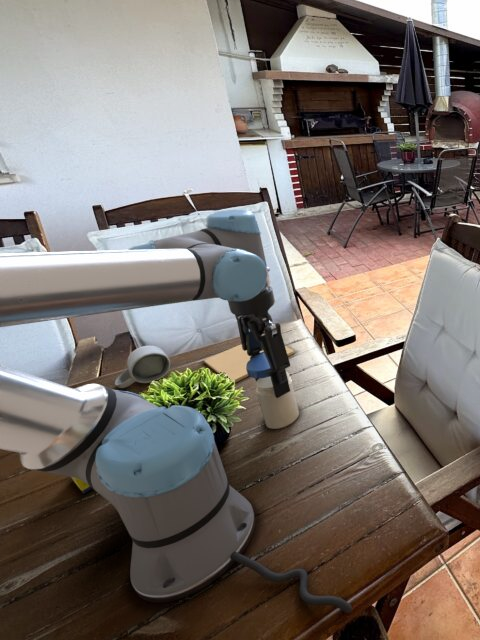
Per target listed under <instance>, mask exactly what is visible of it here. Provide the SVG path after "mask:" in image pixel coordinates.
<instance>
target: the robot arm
mask: <svg viewBox="0 0 480 640" xmlns="http://www.w3.org/2000/svg"><path fill="white" fill-rule="evenodd" d="M205 223H206V224H205V226H206V227H205V228H202V229H199V230H195V231H191V232H186V233H182V234H177V235H173V236H168V237H165V238H164V237H163V238H159V239H156V240H155V239H154V240H153V239H150V240H149V241H147V242H143V243H140V244H137V245H133V246H130V247H129V248H127V249H119V250H118V249H117V250H83V251H81V250H80V251H49V252H48V251H46V252H45V251H44V252H16V253H13V252H11V253H0V328H5V327H13V326H19V325H27V324H34V323H42V322H49V321H56V320H63V319H69V318H71V319H72V318H78V317H85V316H93V315H99V314H106V313H114V312H121V311H129V310H134V309H135V310H137V309H142V308H143V309H144V308H150V307H158V306H165V305H171V304H180V303H187V302H193V301H194V302H196V301H203V300H210V299H221V300H222V301H227V303H228V308H229V311H230V313H231V314H233V315H234V317H235V319H236V324H237V328H238V333H239V338H240V342H241V344H242V349H243V350H244V351H246V350H247V354H248V356H251V357H250V359H252V358H253V357H255V356H257V355H259V354H261V353H265V356H266V358H267V361H268V363H269V365H270V368H271V370H269V371H267V372H268V373H269V374H270V377H271V381H272V385H273V389H274V393H275V397H276V398H279V397H281V396H282V395H284V394H286V393H288V392H290V387H289V383H288V379H287V374H286V372H287V370H286V369H287V368H289V367H290V368H291V362H290V359H289V356H288V355H287V352H286V348H285V346H286V345H285V342H284V338H283V335H282V327H281V323H280V322H275V323H273V318H272V316H271V314H270V313H269V310H270V309H271V308H272V307H273V306H274V305H275V303H276V300H275V295H274V291H273V287H272V286H271V278H270V274H269V273H270V271H271V268H270V267H268V265H267V261H266V256H265V251H264V246H263V241H262V237H261V235H262V234H261V231H260V228H259V224H258V221H257V219H256V216H255V214H254V213H253V212H252V211H250V210H247V209H227V210H220V211H216V212H214V213H210V214H208V215H207V216H206V217H205ZM264 334H265V335H264ZM246 343H247V344H246ZM260 351H264V352H261V353H260ZM254 379H255V383H256V382H257V380H258V379H259V378H254ZM0 450H3V451H8V452H13V453H18V454H19V460H20V463H21V465H22V467H24V468H26V469H28V470H32V471H37V472H38V471H39V472H43V473H48V474H55V475H60V476H66V477H70V478H71V477H74V478H77V479H80V480H82V481H84V482H85V483H86V484H87V485H89V486H90V487H91V488H92V489H91V490H93V491H94V492H96V493H97V494H99V495H100V496H101V497H102V498H104V499H105V500H106V501H108V502H109V503H110V504H111V505H112V506H113V507H114V509H115V510H116V511H117V512H118V515H119V517H120V519H121V520H122V522H123V524H124V527H125V528H126V530H127V532H128V535H129V536H130V538H131V540H132V548H131V558H130V569H129V570H130V571H129V575H130V582H131V586H132V587H133V590H134V591H135V593H136V594H137V596H138V597H139V598H140V599H142V600H143V601H146V602H149V603H153V604H164V603H170V602H174V601H175V602H176V601H178V600H181V599H184V598H186V597H189V596H191V595H193V594H195V593H198V592H199V591H201V590H203V589H205V588H206V587H207V586H209V585H211V584H212V583H214V582H215V581H217V579H218V578H220V577H221V576H222V575H224V574H225V573H226V572H227V571H229V570H230V568H232V566H233V565H234V564H236V563H238V564H240V565H242V566H244V567H246V568H248V569H250V570H252V571H254V572H256V573H257V574H258V575H260V576H261V577H263V578H264V579H266V580H268V581H270V582H275V583H283V582H286V581H289V580H291V579H294V578H299V580H300V581H299V590H298V591H299V597H300V599H301V600H302V601H303V602H304V603H306V604H308V605H311V606H331V607H336V608H338V609H340V610H341V611H342V612H343V613H345V614H349V613H351V612H352V610H353V607H352V605H351V604H350V603H349V602H347V601H346V600H345V599H343V598H341V597H340V596H335V595H313V594H311V593H309V591H308V582H309V581H308V580H309V576H308V573H307V572H306V571H305V570H304V569H303V568H294V569H292V570H289V571H287V572H283V573H278V572H275V571H272V570H270V569H269V568H267V567H266V566H264V565H263V564H261V563H260V562H258V561H256V560H254V559H252V558H250V557H248V556H246V555H243V553H244V552H245V550H246V549H247V548H248V546H249V545H250V542H251V541H252V539H253V536H254V533H255V528H256V522H257V520H256V514H255V512H254V508H253V506H252V504H251V503H250V501H249V500H248V499H247V497H245V496H243V494H241V493H240V492H239V491H237V490H236V488H234V487H233V486H231V484H230V483H229V480H228V476H227V475H226V474H227V473H226V471H225V469H224V465H223V462H222V459H221V456H220V453H219V451H218V447H217V444H216V441H215V435H214V431H213V429H212V427H211V426H210V424H209V423H208V421H207V419H206V418H205V416H204V415H203V413H201V412H200V411H199V410H197V409H195V408H193V407H190V406H186V405H180V404H179V405H177V404H175V405H171V406H169V407H168V408H167V407H166V406H158V405H156V404H154V403H152V402H150V401H149V400H148V399H146V398H145V397H143V396H142V395H140V394H137V393H135V392H132V391H124V390H120V389H119V390H118V389H113V388H111V387H108V386H104V385H102V384H98V383H87V384H83V385H81V386H78V387H75V388H73V387H69V386H66V385H64V384H61V383H59V382H54V381H51V380H49V379H45V378H44V377H40V376H37V375H33V374H30V373H28V372H25V371H22V370H20V369H19V370H18V369H16V368H13V367H10V366H7V365H3V364H1V363H0Z"/></svg>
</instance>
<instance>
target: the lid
mask: <svg viewBox="0 0 480 640" xmlns="http://www.w3.org/2000/svg"><path fill="white" fill-rule="evenodd" d="M246 370H247V373H248V375H249V376H248V377H250V378H252V379H255V378H266V377H270V374H269V373H268V372H267V371H269V370H271V368H270V365H269V363H268V361H267V358H266V356H265V353H261V354H259V355H257V356H255V357H253V358H252V359H250V360H249V361H248V362H247V364H246Z"/></svg>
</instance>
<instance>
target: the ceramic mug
mask: <svg viewBox="0 0 480 640" xmlns="http://www.w3.org/2000/svg"><path fill="white" fill-rule="evenodd" d="M126 365H127V369H125V370H124V371H123V372H121V373H120V374H119V375H118V376H117V378H115V381H114V385H115V386H116V387H117V388H119V389H125V388H128V387H130V386H131V385H133V384H134V383H136V382H137V383H140V384H151V383H152V382H151V381H153V380H157V381H159V380H161V379H162V378H165V376H166V375H167V374H168V373H169V371H170V369H171V359H170V358H169V356H168V355H167V354H166V353H165V352H164V350H162V348H160V347H159V346H155V345H142V346H140V347H137V348H136V349H134V350H133V351H132V352H130V353H129V355H128V357H127V361H126ZM129 376H130V377H129ZM128 377H129V378H128Z"/></svg>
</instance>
